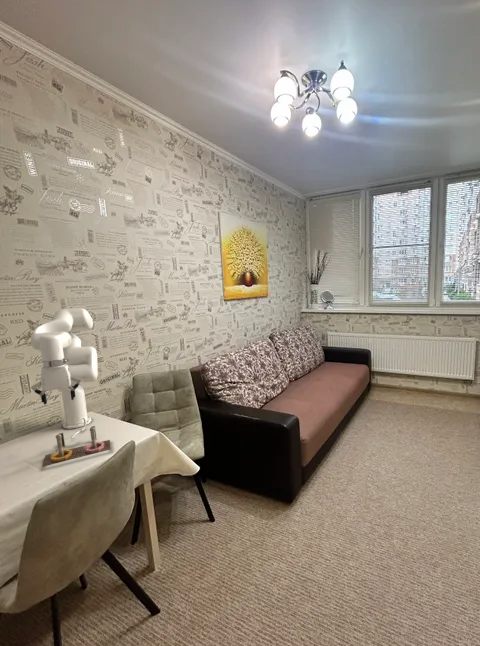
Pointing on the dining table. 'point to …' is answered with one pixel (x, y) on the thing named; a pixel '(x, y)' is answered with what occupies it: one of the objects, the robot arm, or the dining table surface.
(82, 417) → the hook
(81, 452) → the peg rack
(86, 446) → the pink ring
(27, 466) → the dining table surface
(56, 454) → the brass ring
